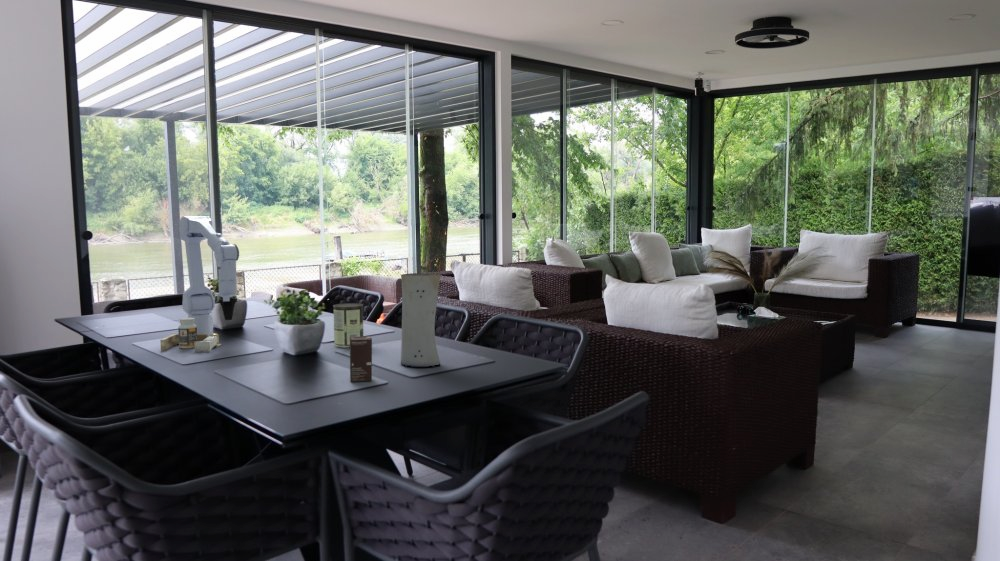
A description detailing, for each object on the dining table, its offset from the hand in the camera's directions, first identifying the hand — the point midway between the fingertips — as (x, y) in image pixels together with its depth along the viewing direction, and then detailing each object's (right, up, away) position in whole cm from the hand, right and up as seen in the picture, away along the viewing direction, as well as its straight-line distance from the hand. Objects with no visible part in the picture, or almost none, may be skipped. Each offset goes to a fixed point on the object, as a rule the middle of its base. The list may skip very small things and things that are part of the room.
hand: (228, 319), depth 248 cm
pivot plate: (-6, -9, +3) cm, 11 cm away
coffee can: (+40, -9, +6) cm, 41 cm away
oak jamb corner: (-15, -9, -1) cm, 17 cm away
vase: (+69, -13, -24) cm, 74 cm away
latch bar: (-6, -9, -1) cm, 11 cm away
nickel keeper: (-6, -10, -6) cm, 13 cm away
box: (+54, -15, -45) cm, 72 cm away
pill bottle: (-13, -10, -1) cm, 16 cm away
